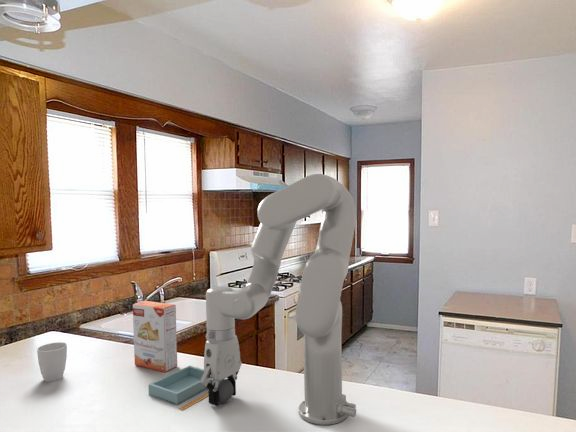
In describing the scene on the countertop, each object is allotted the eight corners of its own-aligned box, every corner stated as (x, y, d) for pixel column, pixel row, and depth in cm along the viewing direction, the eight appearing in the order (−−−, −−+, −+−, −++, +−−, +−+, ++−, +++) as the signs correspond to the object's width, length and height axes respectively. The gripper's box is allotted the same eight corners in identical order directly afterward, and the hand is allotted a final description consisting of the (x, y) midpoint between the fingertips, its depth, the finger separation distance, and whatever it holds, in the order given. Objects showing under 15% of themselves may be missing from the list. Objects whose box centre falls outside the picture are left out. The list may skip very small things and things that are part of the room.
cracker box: (133, 366, 139) (131, 303, 138) (147, 359, 144) (145, 299, 144) (164, 373, 133) (162, 308, 132) (178, 366, 138) (176, 303, 137)
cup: (73, 373, 134) (72, 342, 134) (57, 384, 126) (55, 351, 126) (49, 372, 135) (48, 342, 134) (32, 383, 127) (30, 351, 126)
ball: (238, 399, 114) (237, 378, 114) (223, 409, 109) (222, 386, 109) (221, 394, 117) (221, 373, 117) (206, 403, 112) (206, 381, 112)
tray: (228, 384, 124) (228, 374, 123) (182, 410, 109) (182, 399, 108) (192, 373, 132) (192, 364, 132) (145, 396, 117) (144, 385, 117)
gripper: (208, 345, 103) (210, 417, 104) (251, 327, 117) (253, 390, 118) (187, 340, 107) (189, 409, 108) (231, 323, 122) (233, 384, 122)
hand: (222, 398), depth 113 cm, fingers closed on ball, 5 cm apart
